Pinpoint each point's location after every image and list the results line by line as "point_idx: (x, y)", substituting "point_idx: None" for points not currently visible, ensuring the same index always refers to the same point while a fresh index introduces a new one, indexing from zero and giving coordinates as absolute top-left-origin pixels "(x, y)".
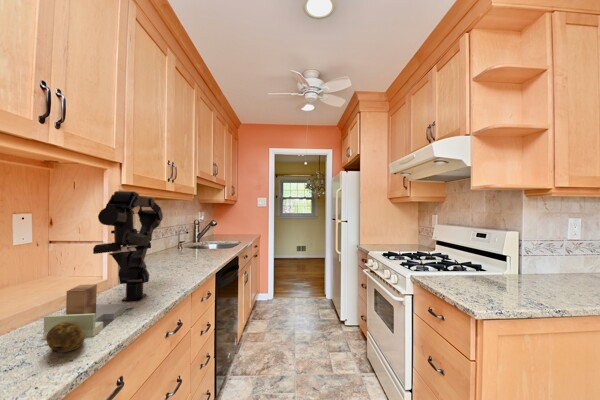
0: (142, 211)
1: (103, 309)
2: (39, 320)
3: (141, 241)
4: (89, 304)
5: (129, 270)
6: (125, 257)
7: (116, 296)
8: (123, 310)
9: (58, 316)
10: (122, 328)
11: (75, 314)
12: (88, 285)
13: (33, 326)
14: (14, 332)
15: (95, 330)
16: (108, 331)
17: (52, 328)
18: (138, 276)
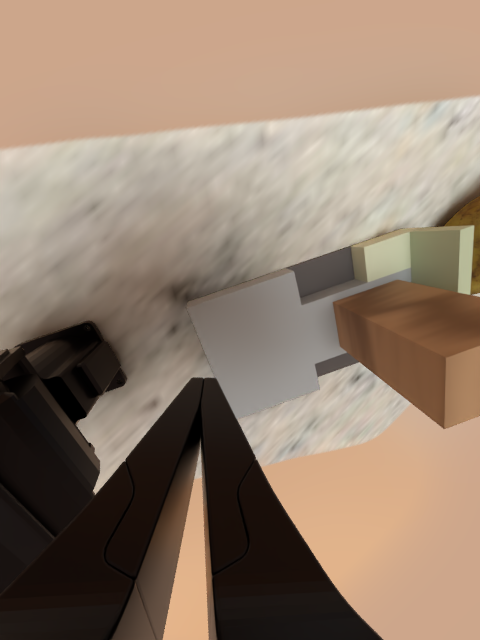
0: None
1: (263, 340)
2: (307, 451)
3: None
4: (423, 305)
5: (42, 470)
6: (274, 571)
7: (87, 439)
8: (215, 293)
9: None
10: (346, 176)
11: None
12: (463, 381)
13: (339, 430)
14: (368, 433)
15: (401, 232)
16: (367, 210)
17: None
18: (28, 383)
